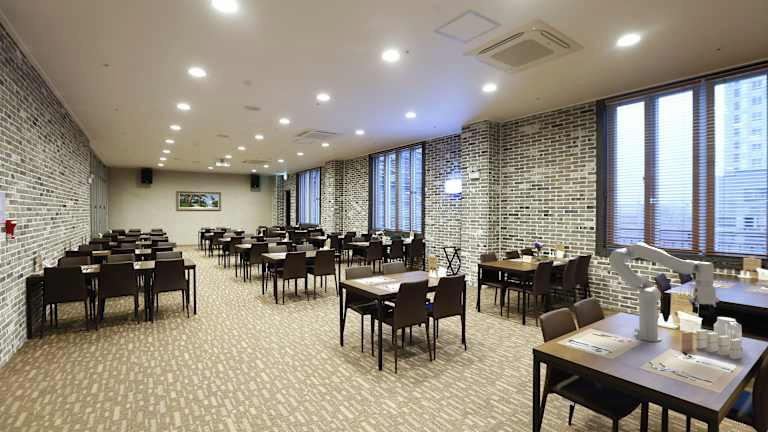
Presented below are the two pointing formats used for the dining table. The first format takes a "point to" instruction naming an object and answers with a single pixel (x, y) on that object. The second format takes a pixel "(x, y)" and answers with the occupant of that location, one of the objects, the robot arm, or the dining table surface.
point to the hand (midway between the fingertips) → (703, 313)
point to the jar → (722, 325)
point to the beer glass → (733, 331)
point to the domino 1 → (687, 340)
